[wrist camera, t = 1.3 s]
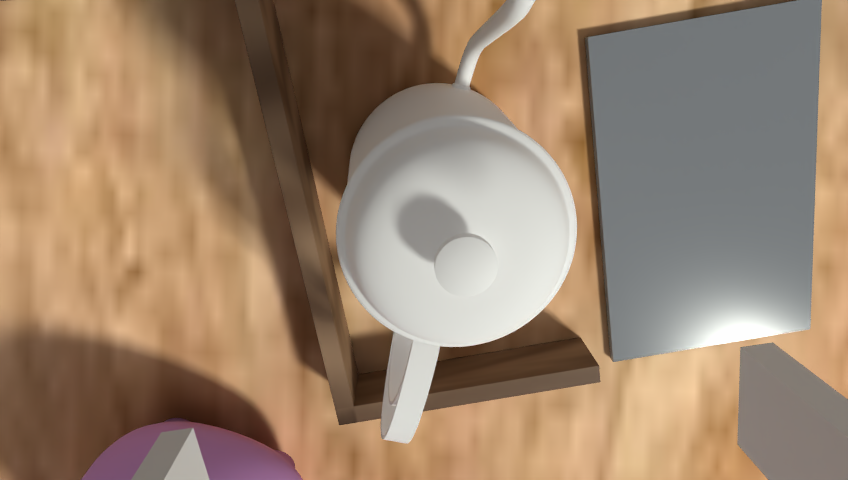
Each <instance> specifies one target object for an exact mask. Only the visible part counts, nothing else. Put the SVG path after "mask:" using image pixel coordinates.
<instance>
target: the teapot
mask: <svg viewBox="0 0 848 480" xmlns="http://www.w3.org/2000/svg"><path fill="white" fill-rule="evenodd" d="M187 428H193V429H194V432H195V435H196V438H197V441H198V445H199V448H200V451H201V454H202V457H203V461H204V464H205V467H206V470H207V473H208V476H209V480H303V479H302V478H301V476H300V475H299V473H298V472H297V471H296V469H295V464H294V461H293V460H292V458H291V457H290V456H289V455H288V454H286V453H284V452H282V451H278V450H273V449H271V448H270V447H268V446H266V445H264V444H262V443H260V442H258V441H256V440H253V439H251V438H249V437H246V436H244V435H241V434H239V433H236V432H233V431H230V430H226V429H223V428H219V427H215V426H211V425H206V424H202V423H195V422H190V421H188V420H186V419H183V418H171V419H168V420H166V421H164V422H162V423H157V424H151V425H146V426H144V427H141V428H138V429H135V430H133V431H131V432H129V433H128V434H126V435H124V436H122V437H121V438H119V439H118V440H116V441H115V442H114V443H113V444H112V445H110V446H109V447H108V448H107V449H106V450H105V451H104V452H103V453H102V454H101V455H100V456H99V457H98V458H97V459H96V460H95V461H94V463H93V464H92V465H91V467H90V468H89V469H88V471H87V472H86V473H85V475H84V476H83V478H82V479H81V480H131V479H132V477H133V476H134V474H135V473H136V471H137V470H138V468H139V467H140V465H141V463H142V462H143V460H144V459H145V457H146V456H147V454H148V452H149V451H150V449H151V448H152V446H153V445H154V443H155V441H156V440H157V438H158V437H159V435H160V434H161V432H167V431H174V430H180V429H187Z"/></svg>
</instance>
